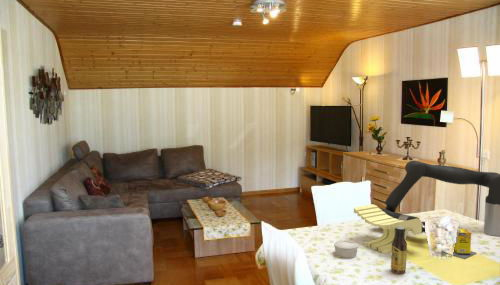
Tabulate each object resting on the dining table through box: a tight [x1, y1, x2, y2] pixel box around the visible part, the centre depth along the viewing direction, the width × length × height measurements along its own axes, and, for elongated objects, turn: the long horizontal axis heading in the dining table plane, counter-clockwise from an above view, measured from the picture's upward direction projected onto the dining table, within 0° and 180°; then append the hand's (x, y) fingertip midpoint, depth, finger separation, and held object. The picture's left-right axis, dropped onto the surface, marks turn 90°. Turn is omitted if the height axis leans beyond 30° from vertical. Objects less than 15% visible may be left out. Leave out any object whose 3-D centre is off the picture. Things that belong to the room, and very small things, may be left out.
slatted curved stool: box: [353, 204, 423, 254], centre depth 209 cm, size 30×16×18 cm, turn 27°
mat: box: [452, 250, 477, 260], centre depth 200 cm, size 11×11×1 cm
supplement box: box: [454, 228, 472, 255], centre depth 198 cm, size 6×6×11 cm
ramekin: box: [333, 240, 359, 259], centre depth 200 cm, size 11×11×5 cm
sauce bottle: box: [390, 226, 408, 274], centre depth 179 cm, size 7×6×20 cm
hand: (438, 230), depth 208 cm, fingers open, 8 cm apart
